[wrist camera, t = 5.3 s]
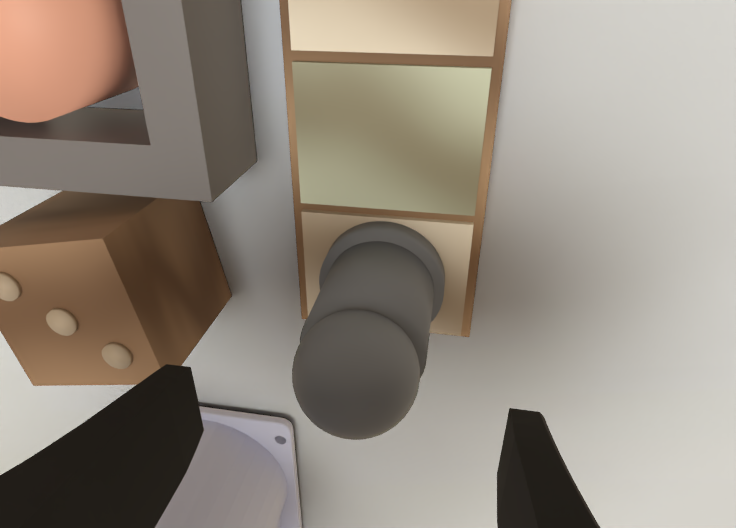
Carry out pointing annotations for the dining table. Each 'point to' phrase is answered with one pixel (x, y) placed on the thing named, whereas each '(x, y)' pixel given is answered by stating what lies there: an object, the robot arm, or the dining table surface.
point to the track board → (394, 128)
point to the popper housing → (152, 114)
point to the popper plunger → (61, 56)
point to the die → (107, 286)
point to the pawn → (368, 330)
